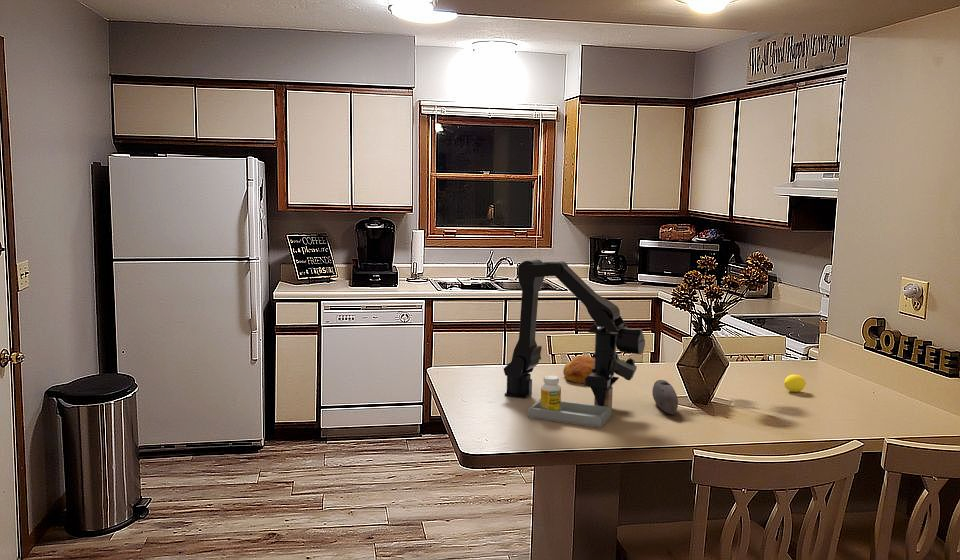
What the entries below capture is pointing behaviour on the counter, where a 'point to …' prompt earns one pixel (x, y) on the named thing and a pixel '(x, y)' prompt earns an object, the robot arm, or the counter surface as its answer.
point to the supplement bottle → (551, 394)
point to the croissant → (579, 369)
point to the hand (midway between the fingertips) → (603, 405)
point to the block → (607, 398)
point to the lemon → (794, 383)
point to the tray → (573, 413)
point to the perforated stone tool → (665, 396)
